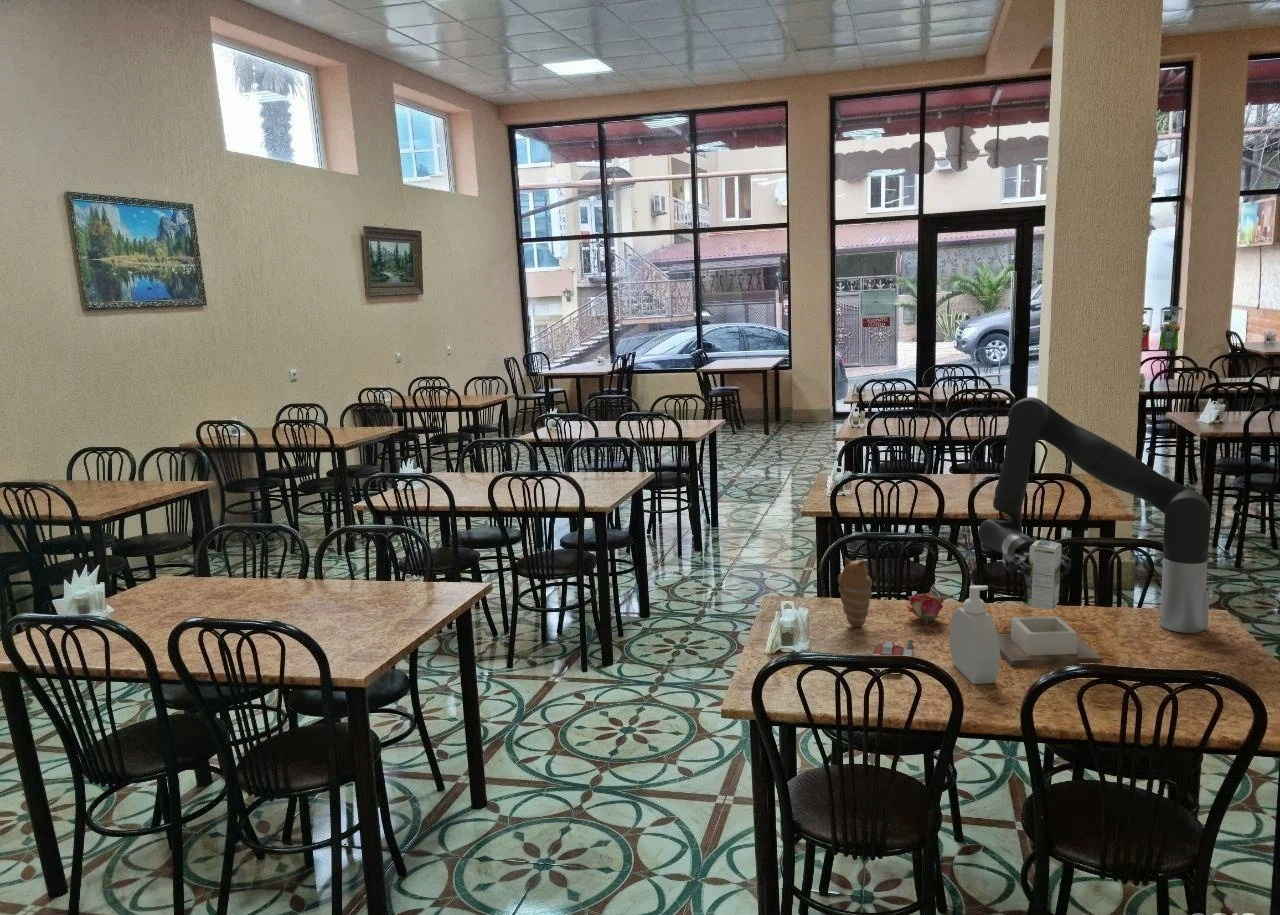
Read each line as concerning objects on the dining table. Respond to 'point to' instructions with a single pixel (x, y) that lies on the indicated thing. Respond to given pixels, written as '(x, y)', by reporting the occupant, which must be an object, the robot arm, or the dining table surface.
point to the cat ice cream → (855, 591)
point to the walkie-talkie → (892, 650)
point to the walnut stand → (1020, 658)
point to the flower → (925, 606)
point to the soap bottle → (975, 640)
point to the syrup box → (1044, 574)
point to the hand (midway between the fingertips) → (1047, 571)
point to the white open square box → (1043, 636)
